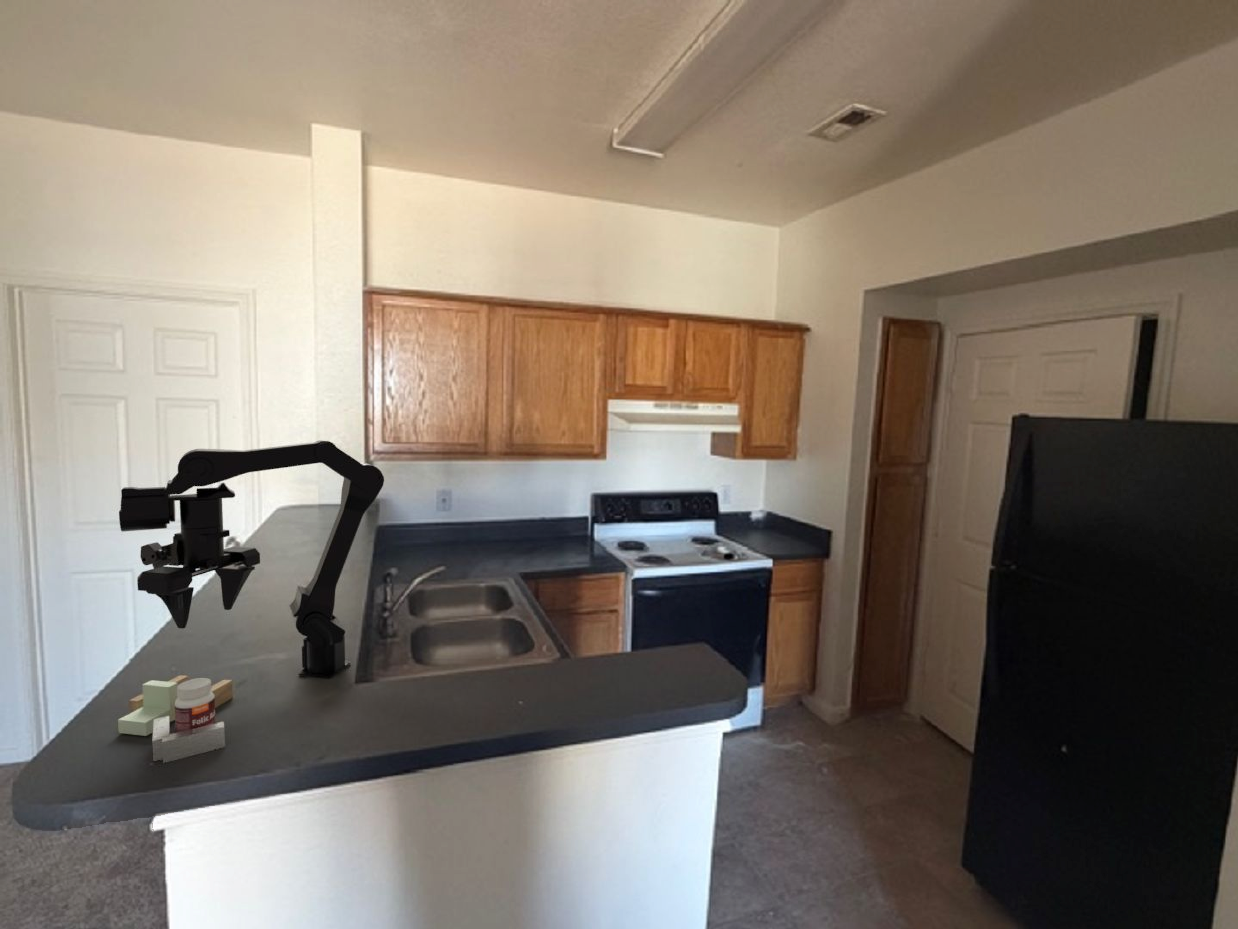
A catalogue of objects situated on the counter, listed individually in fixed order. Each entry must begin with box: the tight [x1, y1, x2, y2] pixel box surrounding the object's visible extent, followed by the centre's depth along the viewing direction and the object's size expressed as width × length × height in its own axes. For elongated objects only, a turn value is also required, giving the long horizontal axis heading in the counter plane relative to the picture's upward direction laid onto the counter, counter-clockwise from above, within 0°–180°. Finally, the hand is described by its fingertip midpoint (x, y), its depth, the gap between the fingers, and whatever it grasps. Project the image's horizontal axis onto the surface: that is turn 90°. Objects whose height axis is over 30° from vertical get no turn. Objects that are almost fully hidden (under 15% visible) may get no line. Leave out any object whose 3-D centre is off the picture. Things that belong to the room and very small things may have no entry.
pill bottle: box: [174, 677, 216, 733], centre depth 87 cm, size 5×5×8 cm
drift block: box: [117, 679, 178, 737], centre depth 90 cm, size 5×6×6 cm
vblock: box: [151, 716, 226, 764], centre depth 84 cm, size 11×6×3 cm, turn 81°
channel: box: [128, 675, 234, 714], centre depth 96 cm, size 10×9×3 cm
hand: (205, 618), depth 100 cm, fingers open, 9 cm apart
